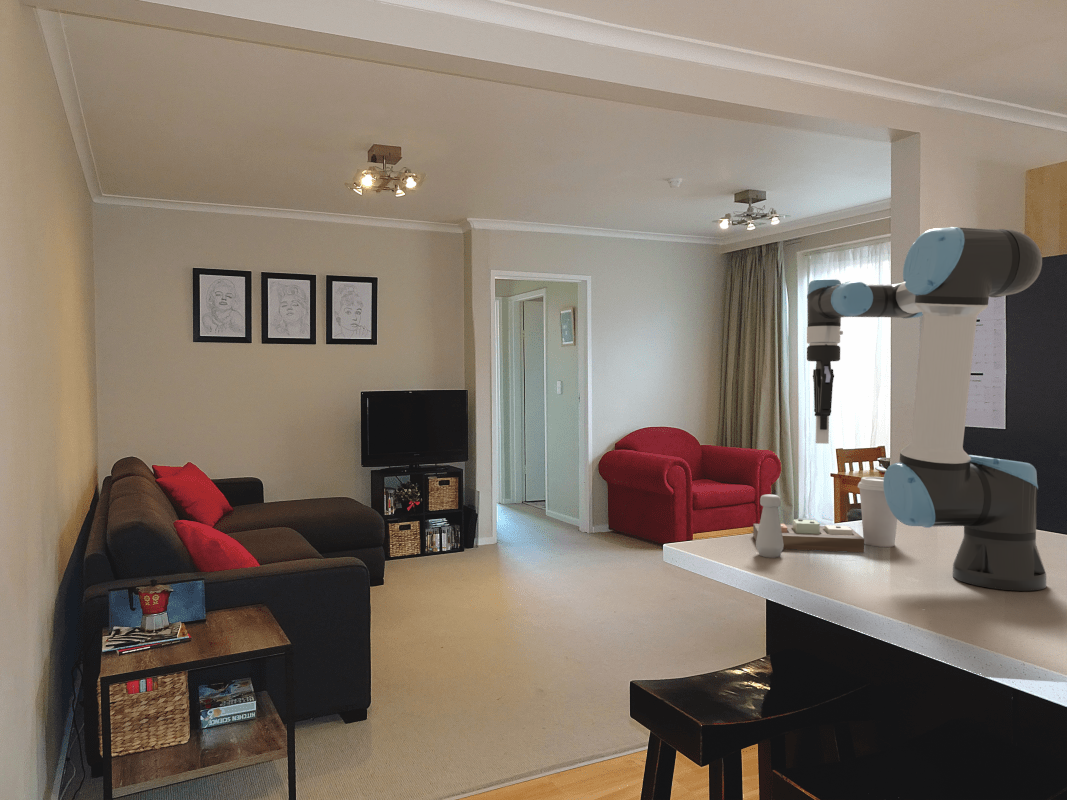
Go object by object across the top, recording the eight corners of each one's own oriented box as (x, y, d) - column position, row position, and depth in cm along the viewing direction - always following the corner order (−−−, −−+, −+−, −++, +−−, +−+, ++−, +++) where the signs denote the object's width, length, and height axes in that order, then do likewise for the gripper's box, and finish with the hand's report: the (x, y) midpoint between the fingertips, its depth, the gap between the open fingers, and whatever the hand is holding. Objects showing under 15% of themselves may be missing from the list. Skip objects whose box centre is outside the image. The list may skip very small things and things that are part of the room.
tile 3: (787, 538, 178) (787, 526, 178) (764, 537, 179) (764, 525, 179) (784, 533, 183) (784, 522, 183) (761, 533, 184) (762, 522, 184)
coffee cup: (909, 548, 175) (910, 481, 175) (866, 548, 176) (867, 481, 175) (890, 539, 185) (892, 476, 185) (850, 539, 185) (851, 476, 185)
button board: (864, 552, 171) (864, 538, 171) (759, 548, 175) (759, 534, 175) (849, 539, 185) (849, 527, 185) (753, 536, 189) (753, 523, 189)
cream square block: (852, 540, 176) (852, 529, 176) (828, 539, 177) (828, 528, 177) (847, 536, 181) (847, 525, 181) (824, 535, 182) (824, 524, 181)
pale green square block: (819, 534, 177) (819, 523, 177) (796, 533, 178) (796, 522, 178) (815, 530, 182) (815, 519, 182) (793, 529, 183) (793, 518, 183)
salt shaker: (752, 556, 167) (753, 495, 166) (758, 551, 172) (759, 492, 171) (780, 559, 164) (781, 497, 163) (786, 554, 169) (786, 494, 169)
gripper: (846, 343, 181) (844, 445, 181) (834, 345, 193) (832, 441, 194) (812, 343, 182) (810, 445, 182) (802, 346, 195) (801, 440, 195)
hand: (822, 443), depth 188 cm, fingers closed
